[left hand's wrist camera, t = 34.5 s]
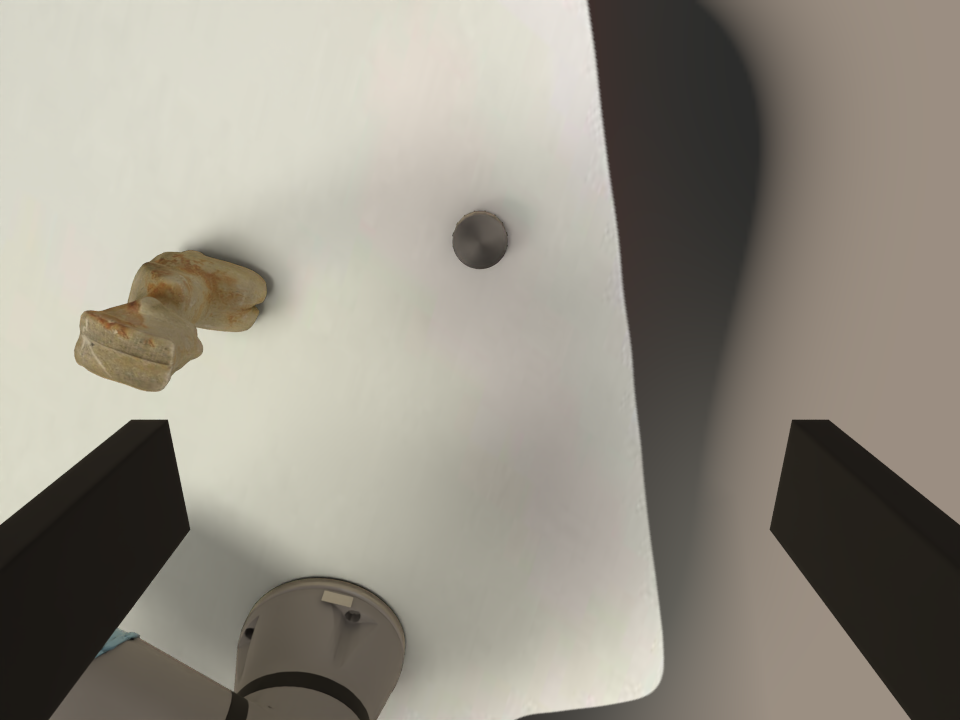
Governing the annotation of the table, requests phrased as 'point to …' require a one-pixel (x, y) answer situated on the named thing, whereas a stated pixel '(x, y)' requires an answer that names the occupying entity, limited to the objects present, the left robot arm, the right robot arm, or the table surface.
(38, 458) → the table surface
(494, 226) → the cap
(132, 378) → the sculpture
